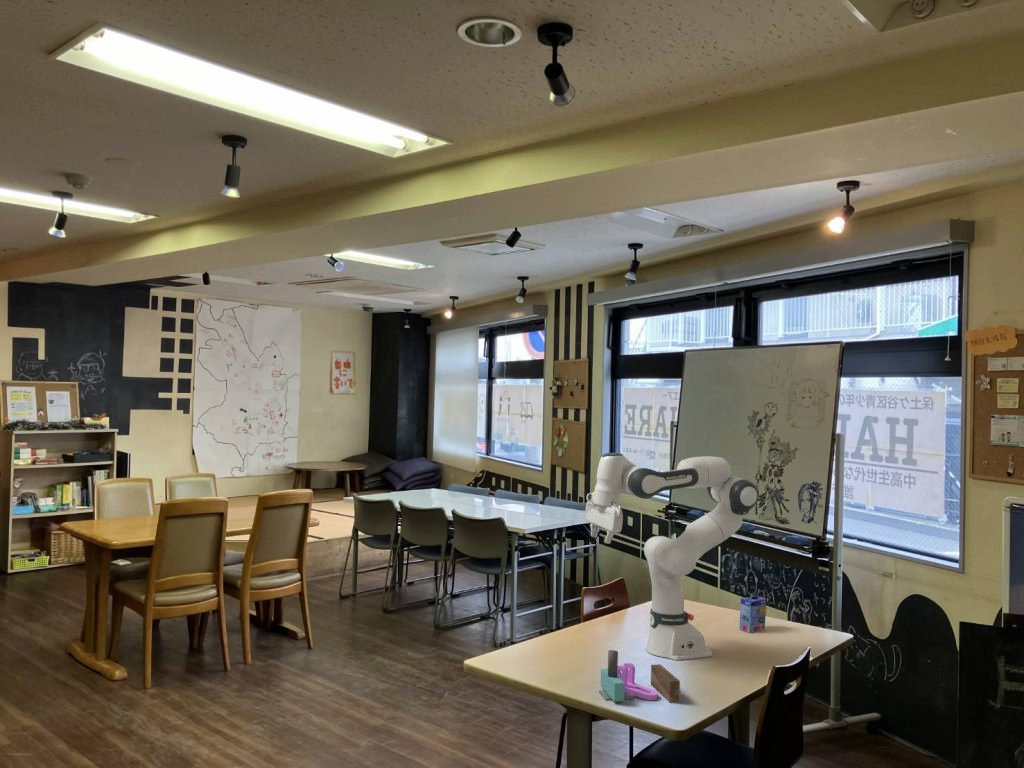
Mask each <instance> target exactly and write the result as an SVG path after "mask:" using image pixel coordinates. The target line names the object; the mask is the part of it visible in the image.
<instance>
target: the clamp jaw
mask: <svg viewBox="0 0 1024 768" xmlns="http://www.w3.org/2000/svg"><path fill="white" fill-rule="evenodd" d="M607 652H608V653H607V655H608V656H607V668H600V688H602V690H603V691H606V693H607V694H608V695H609V696H610V697H611V698H612V699H613V700H612V701H613V702H624V701H625V699H624V687H625V683H624V682H623V681H622V680H621V679H620V678H619V677H618V676H617V669H618V666H619V664H618V663H619V658H618V657H619V652H618V651H617V650H616V649H615V650H613V649H611V650H608V651H607Z"/></svg>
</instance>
